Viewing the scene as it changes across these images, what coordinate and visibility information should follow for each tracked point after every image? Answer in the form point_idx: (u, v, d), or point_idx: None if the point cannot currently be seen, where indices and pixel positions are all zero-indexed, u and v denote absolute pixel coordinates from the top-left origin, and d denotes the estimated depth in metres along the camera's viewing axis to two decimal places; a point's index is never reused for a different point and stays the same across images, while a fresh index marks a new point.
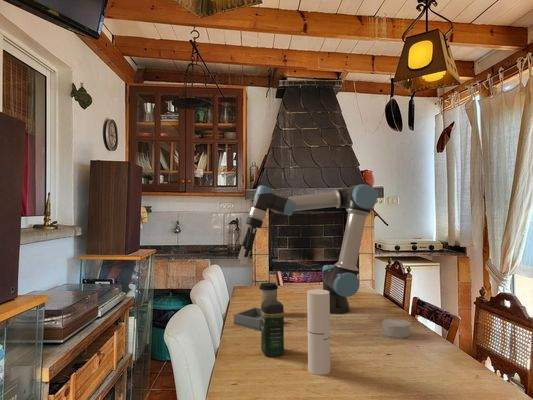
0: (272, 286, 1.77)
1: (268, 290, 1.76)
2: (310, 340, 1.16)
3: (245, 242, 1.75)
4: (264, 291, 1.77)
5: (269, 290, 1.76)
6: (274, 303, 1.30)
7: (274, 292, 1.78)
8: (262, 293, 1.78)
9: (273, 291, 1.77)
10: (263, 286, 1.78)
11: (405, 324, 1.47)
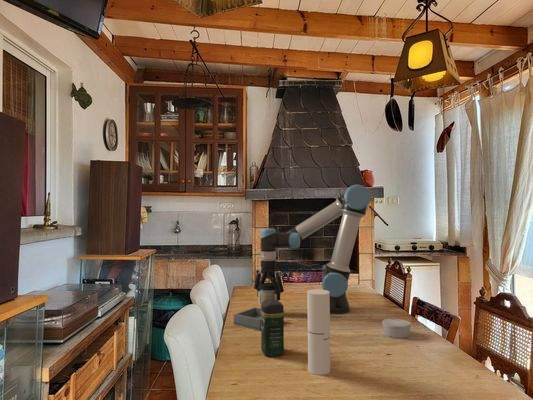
0: (272, 286, 1.77)
1: (268, 290, 1.76)
2: (310, 340, 1.16)
3: None
4: (264, 291, 1.77)
5: (269, 290, 1.76)
6: (274, 303, 1.30)
7: (274, 292, 1.78)
8: (262, 293, 1.78)
9: (273, 291, 1.77)
10: (263, 286, 1.78)
11: (405, 324, 1.47)
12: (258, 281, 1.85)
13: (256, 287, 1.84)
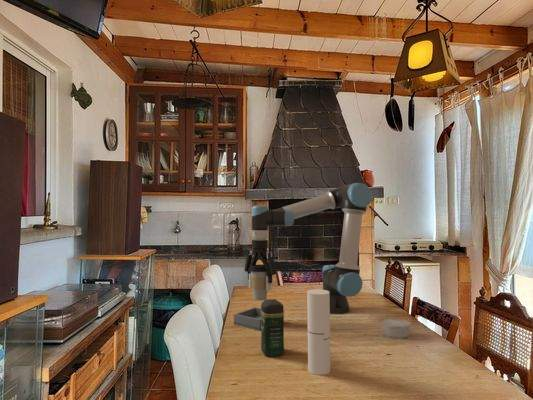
0: (263, 268, 1.63)
1: (259, 272, 1.62)
2: (310, 340, 1.16)
3: None
4: (255, 273, 1.63)
5: (260, 272, 1.62)
6: (274, 303, 1.30)
7: (265, 274, 1.63)
8: (252, 275, 1.64)
9: (264, 273, 1.63)
10: (254, 267, 1.63)
11: (405, 324, 1.47)
12: (249, 263, 1.70)
13: None
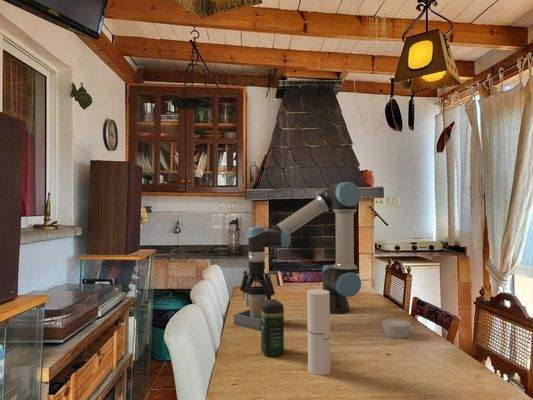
0: (261, 290, 1.64)
1: (256, 295, 1.63)
2: (310, 340, 1.16)
3: (248, 287, 1.70)
4: (252, 296, 1.64)
5: (257, 295, 1.63)
6: (274, 303, 1.30)
7: (263, 297, 1.64)
8: (250, 298, 1.65)
9: (262, 296, 1.64)
10: (251, 290, 1.64)
11: (405, 324, 1.47)
12: (245, 283, 1.71)
13: (242, 289, 1.72)
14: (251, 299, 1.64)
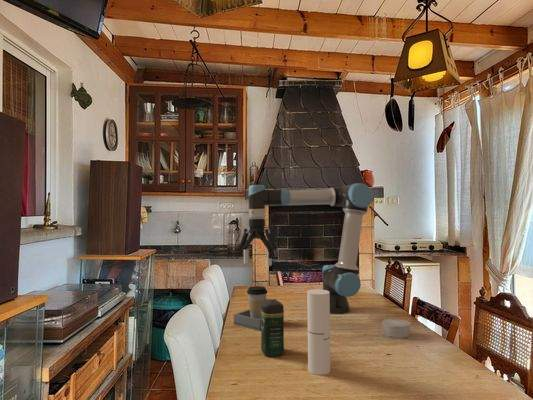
0: (261, 290, 1.64)
1: (256, 294, 1.63)
2: (310, 340, 1.16)
3: (247, 245, 1.72)
4: (252, 296, 1.64)
5: (257, 294, 1.63)
6: (274, 303, 1.30)
7: (263, 297, 1.64)
8: (250, 298, 1.65)
9: (262, 296, 1.64)
10: (251, 290, 1.64)
11: (405, 324, 1.47)
12: (244, 240, 1.73)
13: (241, 246, 1.74)
14: (251, 299, 1.64)
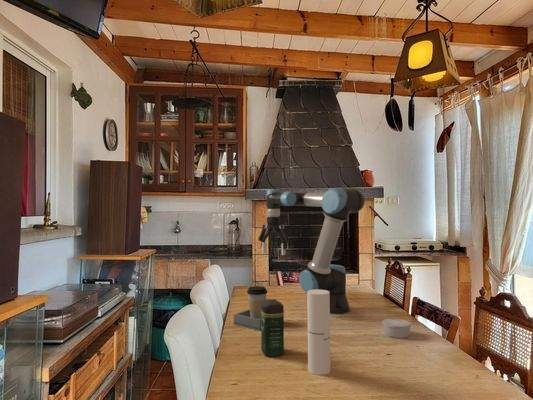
0: (261, 290, 1.64)
1: (256, 294, 1.63)
2: (310, 340, 1.16)
3: (265, 238, 2.10)
4: (252, 296, 1.64)
5: (257, 294, 1.63)
6: (274, 303, 1.30)
7: (263, 297, 1.64)
8: (250, 298, 1.65)
9: (262, 296, 1.64)
10: (251, 290, 1.64)
11: (405, 324, 1.47)
12: (263, 234, 2.11)
13: (260, 239, 2.12)
14: (251, 299, 1.64)
